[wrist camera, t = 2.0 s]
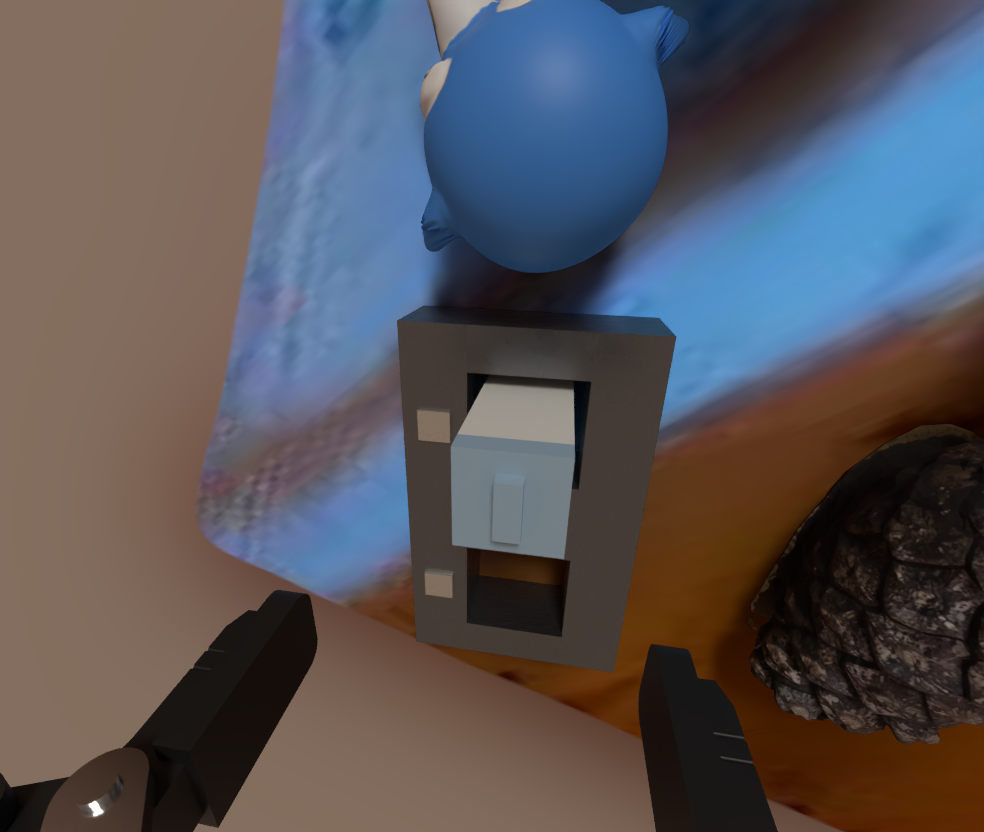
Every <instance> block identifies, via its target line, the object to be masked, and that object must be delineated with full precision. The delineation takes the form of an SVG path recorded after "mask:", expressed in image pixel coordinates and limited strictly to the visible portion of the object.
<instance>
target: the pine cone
mask: <svg viewBox="0 0 984 832" xmlns="http://www.w3.org/2000/svg"><path fill="white" fill-rule="evenodd" d="M773 573H775V575H776V576H772V577H769V576H771V575H772V574H773ZM768 577H769V578H768ZM768 577H767V579H766V581H765V583H764V585H763V587H762V588H761V589H760V591H759V592H758V594H757V595H756V597H755V598H754V600H753V601H752V603H751V611H752V612H753V614H754V613H756V614H757V615H759V616H762V617H765V618H768V619H771V620H770V622H769V623H766V624H764V625H761V627H760V628H759V631H758V638H757V639H756V646H755V649H754V650H753V652H752V653H751V655H750V657H749V661H750V663H751V664H752V666H751V672H752V673H753V675H754V676H755V677H756V678H757V679H758V680H759V681H761V682H762V683H763V684H764V685H765V686H767V687H768V688H770V689H772V690H774V696H775V700H776V702H777V704H778V706H779V708H781V709H782V710H784V711H786V712H788V713H791V714H794V715H798V716H801V717H803V718H804V719H805V720H811V719H817V720H820V721H822V720H825V719H827V718H829V719H830V720H831V721H832V722H834V723H835V724H840V725H841V727H842V728H843V729H845V730H846V731H847V732H852V733H860V734H869V733H871V732H872V731H878V730H883V729H884V727H885V725H886V724H887V725H888V726H889V728H890V729H891V730H892V732H893V734H894V735H895V737H896V739H897V740H898V741H900V742H902V743H904V744H906V745H907V744H911V743H914V742H917V741H920V740H921V741H923V742H924V743H926V744H932V743H938V742H939V741H940V738H939V734H938V731H937V730H938V729H941V728H943V727H947V728H948V727H952V726H955V725H959V724H962V723H967V724H972V725H978V726H980V725H981V724H984V439H983V438H981V437H980V436H978V435H976V434H975V433H973V432H971V431H969V430H966V429H964V428H961V427H958V426H955V425H952V424H941V425H922V426H919V427H917V428H915V429H913V430H912V431H910V432H908V433H905V434H903V435H901V436H899V437H897V438H895V439H893V440H891V441H889V442H887V443H885V444H884V445H883V446H882V447H880V448H879V449H878V450H876V451H875V452H873V453H872V454H871V455H869V456H868V457H866V458H865V459H863V460H862V461H861V462H859V463H858V464H857V465H856V466H854V467H853V468H852V469H850V470H849V471H848V472H847V473H846V475H845V476H844V477H843V478H842V479H841V480H840V481H839V482H838V483H837V484H836V485H835V486H834V488H833V489H832V491H831V492H830V493H829V495H828V496H827V497H826V498H825V499H824V500H823V501H822V502H821V503H820V504H819V505H818V506H817V508H816V509H815V510H814V511H813V512H812V513H811V514H810V516H809V517H808V518H807V519H806V520H805V521H804V523H803V524H802V525H801V526H800V527H799V529H798V530H797V531H796V533H795V534H794V536H793V538H792V540H791V541H790V543H789V545H788V547H787V548H786V550H785V552H784V553H783V555H782V556H781V558H780V559H779V561H778V562H777V563H776V565H775V566H774V568H773V569H772V571H771V572H770V574H769V575H768ZM748 625H749V626H750V627H752V628H754V629H757V628H755V623H754V620H753V617H750V618H749V619H748Z"/></svg>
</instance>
